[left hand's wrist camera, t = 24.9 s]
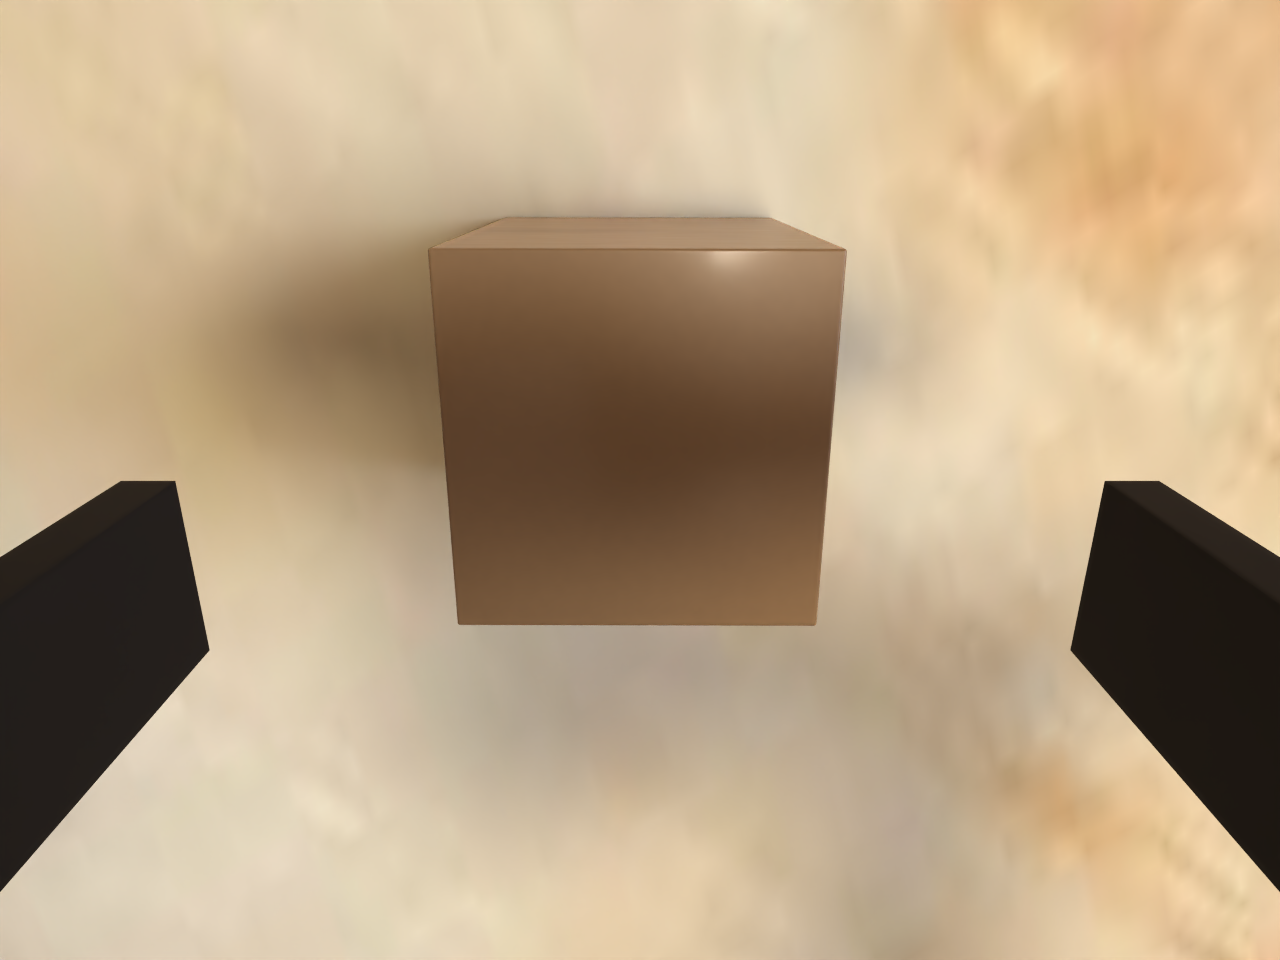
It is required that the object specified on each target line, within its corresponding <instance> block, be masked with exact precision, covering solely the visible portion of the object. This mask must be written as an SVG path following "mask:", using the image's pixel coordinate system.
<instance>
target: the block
mask: <svg viewBox="0 0 1280 960" xmlns="http://www.w3.org/2000/svg"><path fill="white" fill-rule="evenodd" d="M846 254H847V251H846V249H843V248H841V247H839V246H836V245H834V244H832V243H829V242H827V241H825V240H822V239H820V238H817V237H815V236H813V235H810V234H808V233H806V232H803V231H801V230H798V229H796V228H794V227H791V226H789V225H787V224H784V223H782V222H779V221H777V220H775V219H772V218H547V217H506V218H503V219H501V220H498V221H496V222H493V223H491V224H488V225H486V226H484V227H481V228H479V229H476V230H474V231H471V232H469V233H466V234H464V235H461V236H459V237H456V238H454V239H451V240H449V241H446V242H444V243H441V244H439V245H437V246H434V247H432V248H429V250H428V256H429V268H430V281H431V293H432V306H433V318H434V331H435V343H436V356H437V368H438V381H439V393H440V406H441V418H442V431H443V443H444V456H445V468H446V481H447V493H448V506H449V519H450V531H451V544H452V556H453V569H454V581H455V594H456V606H457V619H458V624H459V625H806V626H814V625H816V620H817V608H818V596H819V584H820V572H821V559H822V547H823V535H824V523H825V511H826V498H827V486H828V474H829V462H830V450H831V437H832V425H833V413H834V401H835V389H836V376H837V364H838V352H839V340H840V328H841V315H842V303H843V291H844V279H845V267H846Z"/></svg>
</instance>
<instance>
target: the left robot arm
mask: <svg viewBox="0 0 1280 960" xmlns="http://www.w3.org/2000/svg"><path fill="white" fill-rule="evenodd" d="M208 651H209V645H208V640H207V635H206V630H205V625H204V620H203V616H202V611H201V606H200V601H199V596H198V591H197V586H196V581H195V576H194V571H193V566H192V561H191V557H190V552H189V547H188V542H187V537H186V532H185V527H184V522H183V517H182V512H181V507H180V502H179V498H178V493H177V488H176V483H175V481H120V482H119V483H117V484H115V485H114V486H112V487H111V488H109V489H108V490H106V491H104V492H103V493H101V494H100V495H98V496H96V497H95V498H93V499H92V500H90V501H89V502H87V503H85V504H84V505H82V506H81V507H79V508H77V509H76V510H74V511H73V512H71V513H70V514H68V515H66V516H65V517H63V518H62V519H60V520H58V521H57V522H55V523H54V524H52V525H51V526H49V527H47V528H46V529H44V530H43V531H41V532H39V533H38V534H36V535H35V536H33V537H32V538H30V539H28V540H27V541H25V542H24V543H22V544H20V545H19V546H17V547H16V548H14V549H13V550H11V551H9V552H8V553H6V554H5V555H3V556H1V557H0V891H1V890H2V889H3V888H4V887H5V886H6V885H7V883H8V882H9V881H10V880H11V879H12V878H13V876H14V875H15V874H16V873H17V872H18V871H19V870H20V868H21V867H22V866H23V865H24V864H25V863H26V861H27V860H28V859H29V858H30V857H31V856H32V855H33V853H34V852H35V851H36V850H37V849H38V848H39V846H40V845H41V844H42V843H43V842H44V841H45V840H46V838H47V837H48V836H49V835H50V834H51V833H52V831H53V830H54V829H55V828H56V827H57V826H58V825H59V823H60V822H61V821H62V820H63V819H64V818H65V816H66V815H67V814H68V813H69V812H70V811H71V810H72V808H73V807H74V806H75V805H76V804H77V803H78V801H79V800H80V799H81V798H82V797H83V796H84V795H85V793H86V792H87V791H88V790H89V789H90V788H91V786H92V785H93V784H94V783H95V782H96V781H97V779H98V778H99V777H100V776H101V775H102V774H103V773H104V771H105V770H106V769H107V768H108V767H109V766H110V764H111V763H112V762H113V761H114V760H115V759H116V758H117V756H118V755H119V754H120V753H121V752H122V751H123V749H124V748H125V747H126V746H127V745H128V744H129V743H130V741H131V740H132V739H133V738H134V737H135V736H136V734H137V733H138V732H139V731H140V730H141V729H142V728H143V726H144V725H145V724H146V723H147V722H148V721H149V719H150V718H151V717H152V716H153V715H154V714H155V713H156V711H157V710H158V709H159V708H160V707H161V706H162V704H163V703H164V702H165V701H166V700H167V699H168V698H169V696H170V695H171V694H172V693H173V692H174V691H175V689H176V688H177V687H178V686H179V685H180V684H181V683H182V681H183V680H184V679H185V678H186V677H187V676H188V674H189V673H190V672H191V671H192V670H193V669H194V668H195V666H196V665H197V664H198V663H199V662H200V661H201V659H202V658H203V657H204V656H205V655H206V654H207V653H208ZM1071 651H1072V653H1073V654H1074V655H1075V656H1076V657H1077V658H1078V659H1079V661H1080V662H1081V663H1082V664H1083V665H1084V666H1085V668H1086V669H1087V670H1088V671H1089V672H1090V673H1091V674H1092V676H1093V677H1094V678H1095V679H1096V680H1097V681H1098V683H1099V684H1100V685H1101V686H1102V687H1103V688H1104V689H1105V691H1106V692H1107V693H1108V694H1109V695H1110V696H1111V698H1112V699H1113V700H1114V701H1115V702H1116V703H1117V704H1118V706H1119V707H1120V708H1121V709H1122V710H1123V711H1124V713H1125V714H1126V715H1127V716H1128V717H1129V718H1130V719H1131V721H1132V722H1133V723H1134V724H1135V725H1136V726H1137V728H1138V729H1139V730H1140V731H1141V732H1142V733H1143V734H1144V736H1145V737H1146V738H1147V739H1148V740H1149V741H1150V743H1151V744H1152V745H1153V746H1154V747H1155V748H1156V749H1157V751H1158V752H1159V753H1160V754H1161V755H1162V756H1163V758H1164V759H1165V760H1166V761H1167V762H1168V763H1169V764H1170V766H1171V767H1172V768H1173V769H1174V770H1175V771H1176V773H1177V774H1178V775H1179V776H1180V777H1181V778H1182V779H1183V781H1184V782H1185V783H1186V784H1187V785H1188V786H1189V788H1190V789H1191V790H1192V791H1193V792H1194V793H1195V795H1196V796H1197V797H1198V798H1199V799H1200V800H1201V801H1202V803H1203V804H1204V805H1205V806H1206V807H1207V808H1208V810H1209V811H1210V812H1211V813H1212V814H1213V815H1214V816H1215V818H1216V819H1217V820H1218V821H1219V822H1220V823H1221V825H1222V826H1223V827H1224V828H1225V829H1226V830H1227V831H1228V833H1229V834H1230V835H1231V836H1232V837H1233V838H1234V840H1235V841H1236V842H1237V843H1238V844H1239V845H1240V846H1241V848H1242V849H1243V850H1244V851H1245V852H1246V853H1247V855H1248V856H1249V857H1250V858H1251V859H1252V860H1253V861H1254V863H1255V864H1256V865H1257V866H1258V867H1259V868H1260V870H1261V871H1262V872H1263V873H1264V874H1265V875H1266V876H1267V878H1268V879H1269V880H1270V881H1271V882H1272V883H1273V885H1274V886H1275V887H1276V888H1277V889H1278V890H1279V891H1280V557H1279V556H1277V555H1275V554H1274V553H1272V552H1271V551H1269V550H1267V549H1266V548H1264V547H1263V546H1261V545H1260V544H1258V543H1256V542H1255V541H1253V540H1252V539H1250V538H1248V537H1247V536H1245V535H1244V534H1242V533H1241V532H1239V531H1237V530H1236V529H1234V528H1233V527H1231V526H1229V525H1228V524H1226V523H1225V522H1223V521H1222V520H1220V519H1218V518H1217V517H1215V516H1214V515H1212V514H1210V513H1209V512H1207V511H1206V510H1204V509H1203V508H1201V507H1199V506H1198V505H1196V504H1195V503H1193V502H1191V501H1190V500H1188V499H1187V498H1185V497H1184V496H1182V495H1180V494H1179V493H1177V492H1176V491H1174V490H1172V489H1171V488H1169V487H1168V486H1166V485H1165V484H1163V483H1161V482H1160V481H1105V483H1104V488H1103V493H1102V498H1101V502H1100V507H1099V512H1098V517H1097V522H1096V527H1095V532H1094V537H1093V542H1092V547H1091V552H1090V557H1089V561H1088V566H1087V571H1086V576H1085V581H1084V586H1083V591H1082V596H1081V601H1080V606H1079V611H1078V616H1077V620H1076V625H1075V630H1074V635H1073V640H1072V645H1071Z"/></svg>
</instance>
